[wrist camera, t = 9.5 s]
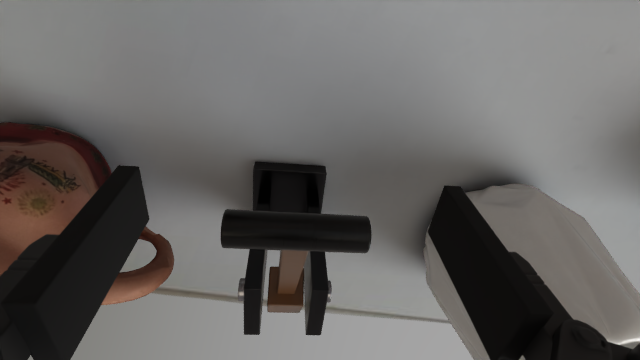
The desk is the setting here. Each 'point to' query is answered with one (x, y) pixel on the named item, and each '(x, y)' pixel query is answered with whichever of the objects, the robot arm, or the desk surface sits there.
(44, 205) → the decorative planter
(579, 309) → the vase
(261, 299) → the bracket
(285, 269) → the lever
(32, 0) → the desk surface
